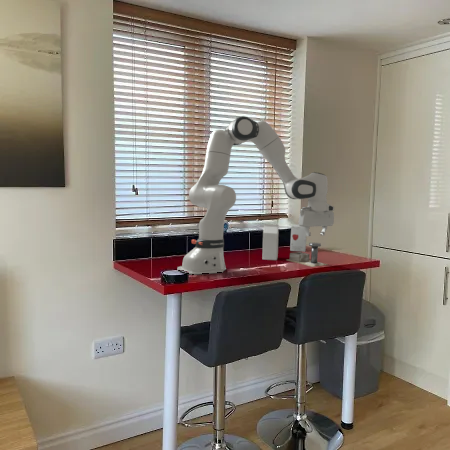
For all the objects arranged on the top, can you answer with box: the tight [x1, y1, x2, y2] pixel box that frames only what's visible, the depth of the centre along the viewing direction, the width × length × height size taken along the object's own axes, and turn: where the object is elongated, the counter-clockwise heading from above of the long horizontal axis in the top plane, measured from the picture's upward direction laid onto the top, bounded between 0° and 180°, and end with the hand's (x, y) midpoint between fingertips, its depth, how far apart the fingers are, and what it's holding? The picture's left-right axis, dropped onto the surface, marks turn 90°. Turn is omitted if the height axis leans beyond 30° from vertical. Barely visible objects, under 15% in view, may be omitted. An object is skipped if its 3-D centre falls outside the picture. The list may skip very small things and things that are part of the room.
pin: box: [308, 242, 322, 264], centre depth 218 cm, size 6×6×10 cm
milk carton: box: [261, 223, 279, 261], centre depth 230 cm, size 7×7×19 cm
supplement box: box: [289, 223, 307, 253], centre depth 266 cm, size 9×9×15 cm
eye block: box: [286, 251, 329, 268], centre depth 223 cm, size 11×19×5 cm, turn 34°
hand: (315, 235), depth 216 cm, fingers open, 8 cm apart
